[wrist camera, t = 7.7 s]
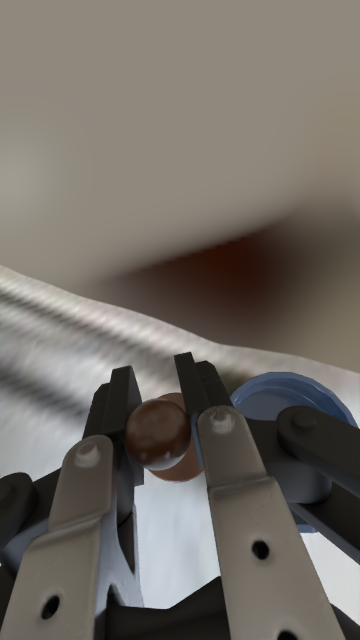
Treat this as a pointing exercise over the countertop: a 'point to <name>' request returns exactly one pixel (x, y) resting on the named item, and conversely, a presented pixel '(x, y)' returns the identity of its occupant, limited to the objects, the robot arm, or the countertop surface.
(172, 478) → the brown stamp
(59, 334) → the countertop surface
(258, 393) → the bowl
